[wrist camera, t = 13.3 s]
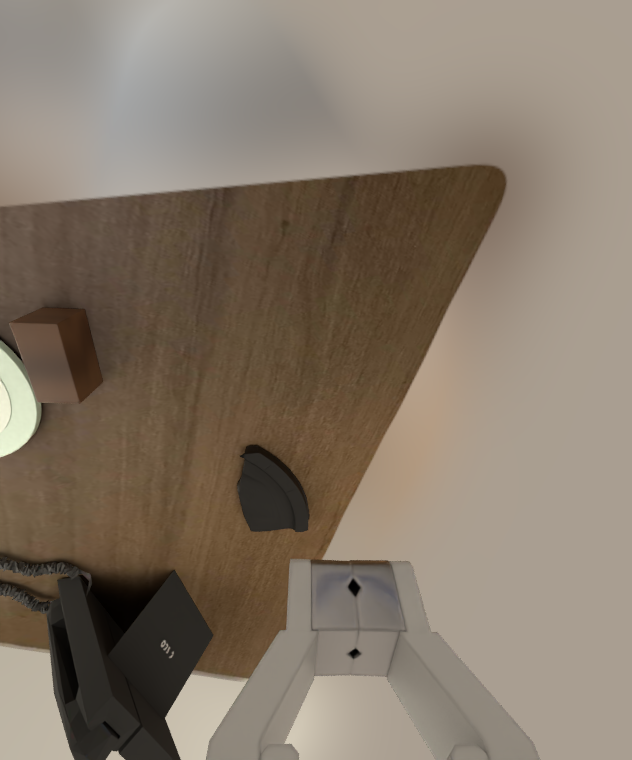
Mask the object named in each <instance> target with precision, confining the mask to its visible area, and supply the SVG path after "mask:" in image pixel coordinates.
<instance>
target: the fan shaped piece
mask: <svg viewBox="0 0 632 760" xmlns="http://www.w3.org/2000/svg"><path fill="white" fill-rule="evenodd" d="M240 457H242V458H244V459H245V461H244V467H243V471H242V476H241V478H240V480H239V481H238V485H237V488H238V494H239V498H240V502H241V506H242V510H243V514H244V517H245V519H246V521H247V523H248V525H249V527H250V530H251V531H255V532H260V531H272V530H279V529H285V528H291V529H293V530H295V532H304V531H307V530H308V519H309V509H308V503H307V498H306V495H305V493H304V491H303V488H302V486H301V484H300V482H299V481H298V480H297V478H296V477H295V476H294V474H293V473H292V472H291V470H290V469H289V468H288V467H287V466H285V465H284V464H283V463H282V462H281V461H280V460H279V459H278V458H276V457H275V456H273V455H272V454H270V453H268V452H267V451H265V450H264V449H262V448H260V447H259V446H247V447H246V451H245V453H244V454H243V455H241V456H240Z"/></svg>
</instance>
